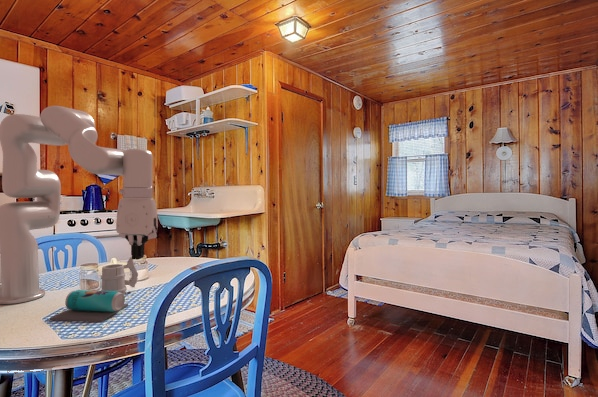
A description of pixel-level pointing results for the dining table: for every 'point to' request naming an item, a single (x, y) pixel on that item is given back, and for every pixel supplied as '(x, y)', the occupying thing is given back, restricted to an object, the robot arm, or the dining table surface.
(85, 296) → the beverage can
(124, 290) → the mug
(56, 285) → the dining table surface
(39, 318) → the dining table surface
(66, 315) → the mat
